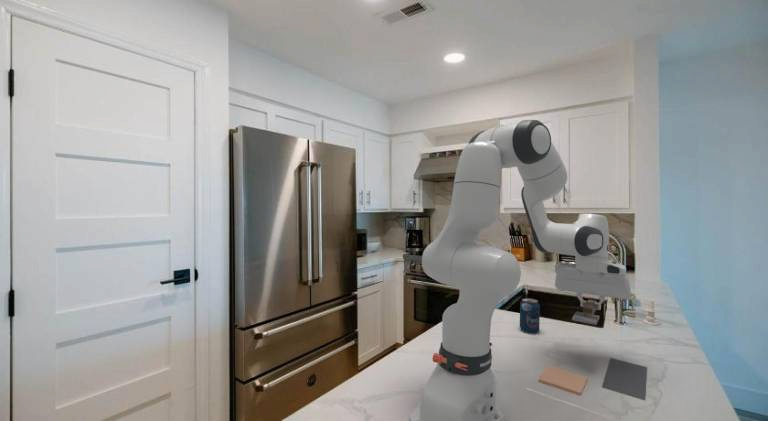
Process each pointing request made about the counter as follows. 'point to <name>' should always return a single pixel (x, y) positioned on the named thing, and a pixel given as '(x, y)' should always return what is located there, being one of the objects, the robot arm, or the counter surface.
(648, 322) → the chess piece
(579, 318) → the grey panel with knob
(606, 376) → the mat
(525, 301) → the soda can
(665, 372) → the counter surface
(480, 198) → the robot arm
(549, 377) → the tile
